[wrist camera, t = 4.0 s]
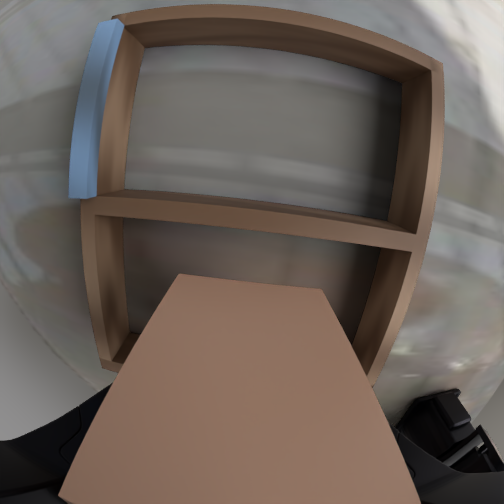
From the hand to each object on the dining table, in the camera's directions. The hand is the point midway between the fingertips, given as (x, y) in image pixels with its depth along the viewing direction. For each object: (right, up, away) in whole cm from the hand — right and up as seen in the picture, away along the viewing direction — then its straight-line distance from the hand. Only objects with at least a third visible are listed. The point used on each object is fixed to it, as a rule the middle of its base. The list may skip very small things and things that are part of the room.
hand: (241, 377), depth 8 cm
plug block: (0, +1, +2) cm, 2 cm away
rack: (+1, +6, +5) cm, 8 cm away
